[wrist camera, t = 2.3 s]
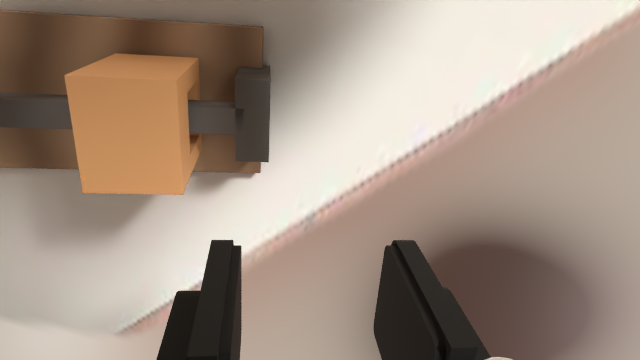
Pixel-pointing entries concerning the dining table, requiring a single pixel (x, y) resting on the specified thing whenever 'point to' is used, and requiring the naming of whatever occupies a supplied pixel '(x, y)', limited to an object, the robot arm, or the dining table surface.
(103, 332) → the dining table surface
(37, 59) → the rod slider toy
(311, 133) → the dining table surface
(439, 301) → the robot arm
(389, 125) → the dining table surface
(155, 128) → the sleeve
